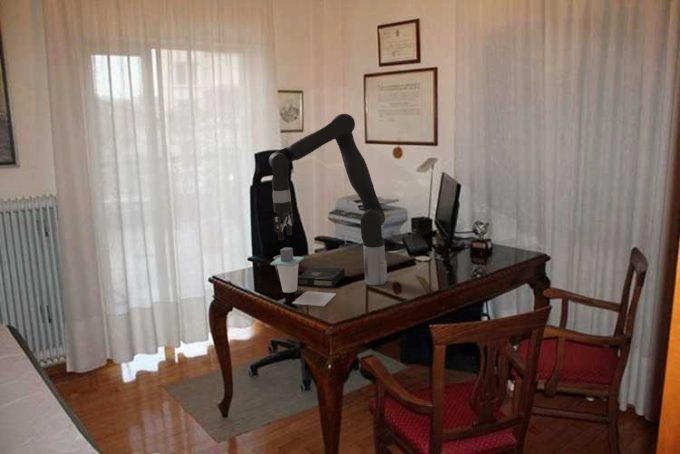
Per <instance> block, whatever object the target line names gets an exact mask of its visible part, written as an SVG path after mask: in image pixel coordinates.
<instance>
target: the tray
mask: <svg viewBox="0 0 680 454" xmlns="http://www.w3.org/2000/svg"><path fill="white" fill-rule="evenodd" d="M335 296H337V293H335V292H320V291H319V292H318V291H306V290H305V291H304V292H303V293H302V294H301V295H300V296H298V297H297V298H296V299H295V300H294V301H293V302H291V303H292V305H300V306H302V305H303V306H313V307H326V305H327V304H328V303H330V301H332V299H333V298H334V297H335Z"/></svg>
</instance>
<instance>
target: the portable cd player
mask: <svg viewBox="0 0 680 454" xmlns="http://www.w3.org/2000/svg"><path fill="white" fill-rule="evenodd" d="M345 273H346V272H345V267H330V266H329V267H328V266H327V267H326V266H312V265H311V266H310V267H309V268H307V270H305V271H303V272H302V273H301V274H300V275H298V281H297V286H304V287H305V286H306V287H320V288H333V287H334V286H336V284H338V283H339V282H340V281H341V280H342V279H343V278H344V277H345V275H346V274H345Z"/></svg>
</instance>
